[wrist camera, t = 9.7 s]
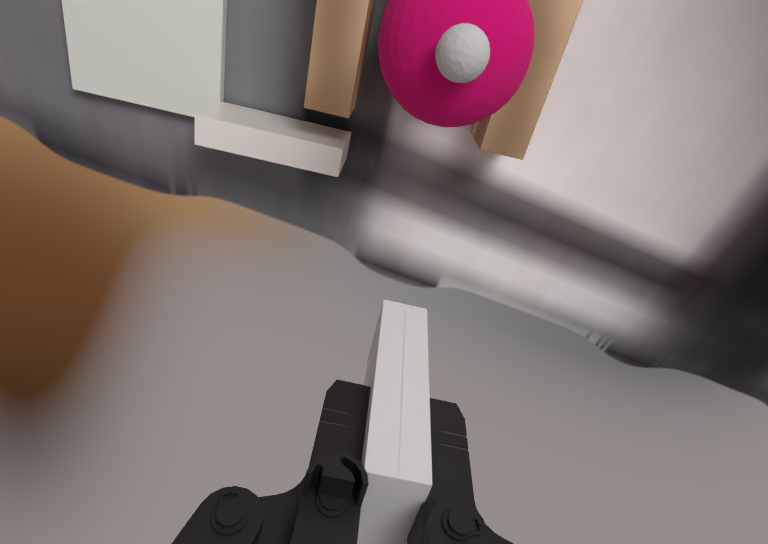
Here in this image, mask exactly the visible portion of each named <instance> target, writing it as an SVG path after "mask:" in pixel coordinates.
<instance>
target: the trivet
mask: <svg viewBox="0 0 768 544" xmlns="http://www.w3.org/2000/svg"><path fill="white" fill-rule="evenodd" d="M62 7H63V15H64V23H65V31H66V39H67V47H68V55H69V63H70V71H71V79H72V87H73V89H75V90H80V91H84V92H88V93H93V94H97V95H101V96H105V97H110V98H114V99H118V100H123V101H127V102H131V103H135V104H140V105H144V106H148V107H153V108H157V109H161V110H166V111H170V112H174V113H178V114H183V115H187V116H191V117H195V114H197V113H199V112H201V111H204V110H206V109H208V108H210V107H212V106H214V105H216V104H218V103H220V102H224V77H225V50H226V22H227V0H62Z"/></svg>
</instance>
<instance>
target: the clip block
mask: <svg viewBox="0 0 768 544" xmlns="http://www.w3.org/2000/svg"><path fill="white" fill-rule="evenodd" d="M528 1H529V3H530V6H531V11H532V15H533V19H534V28H535V37H534V50H533V54H532V59H531V63H530V66H529V68H528V71H527V73H526V76H525V78H524V80H523V82H522V83H521V85H520V87H519V89H518V90H517V92H516V93H515V94H514V95H513V96H512V98H511V99H510V100H509V101H508V102H507V103H506V104H505V105H504V106H503V107H502V108H501V109H499V110H498V111H497V112H496V113H494V114H492V115H491V116H489V117H487V118H485V119H483V120H481V121H478V122H476V123H474V126H473V129H472V134H473V136H474V138H475V141H476V143H477V145H478V147H479V149H480V150H484V151H488V152H492V153H496V154H500V155H505V156H509V157H513V158H517V159H522V160H523V158H524V155H525V152H526V150H527V147H528V145H529V142H530V139H531V137H532V134H533V131H534V129H535V126H536V124H537V121H538V118H539V116H540V113H541V110H542V108H543V105H544V103H545V100H546V97H547V95H548V92H549V89H550V87H551V84H552V82H553V79H554V76H555V74H556V71H557V68H558V66H559V63H560V61H561V58H562V55H563V53H564V50H565V47H566V45H567V42H568V40H569V37H570V34H571V32H572V29H573V26H574V24H575V21H576V19H577V16H578V13H579V11H580V8H581V5H582V3H583V0H528ZM374 6H375V0H317V4H316V12H315V20H314V28H313V37H312V45H311V53H310V61H309V69H308V77H307V85H306V94H305V102H304V108H307V109H311V110H315V111H319V112H324V113H328V114H332V115H336V116H341V117H345V118H349V117H350V115H351V114H352V112H353V110H354V109H355V107H356V105H357V100H358V95H359V89H360V84H361V78H362V72H363V67H364V61H365V56H366V50H367V45H368V39H369V33H370V28H371V22H372V17H373V11H374Z"/></svg>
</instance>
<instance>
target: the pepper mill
mask: <svg viewBox="0 0 768 544" xmlns="http://www.w3.org/2000/svg"><path fill="white" fill-rule="evenodd" d="M534 37H535V28H534V19H533V15H532V11H531V6H530V3H529V1H528V0H388V2H387V4H386V6H385V10H384V13H383V16H382V21H381V26H380V31H379V38H378V52H379V62H380V67H381V71H382V75H383V78H384V80H385V82H386V85H387V87H388V89H389V90H390V92H391V93H392V95H393V96H394V98H395V99H396V100H397V101H398V103H399V104H400V105H401V106H402V107H403V108H404V109H405V110H406V111H408V112H409V113H410V114H411V115H413V116H414V117H416V118H418V119H420V120H422V121H424V122H426V123H428V124H432V125H437V126H442V127H459V126H465V125H469V124H473V123H476V122H478V121H481V120H483V119H485V118H487V117H489V116H491V115H492V114H494V113H496V112H497V111H498V110H499V109H501V108H502V107H503V106H504V105H505V104H506V103H507V102H508V101H509V100H510V99H511V98H512V96H513V95H514V94H515V93H516V92H517V90H518V89H519V87H520V85H521V83H522V82H523V80H524V78H525V76H526V73H527V71H528V68H529V66H530V63H531V59H532V54H533V50H534Z"/></svg>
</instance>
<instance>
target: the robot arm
mask: <svg viewBox="0 0 768 544" xmlns="http://www.w3.org/2000/svg"><path fill="white" fill-rule="evenodd" d="M428 364H429V363H428V332H427V309H424V308H419V307H415V306H411V305H406V304H402V303H397V302H393V301H388V300H383V304H382V308H381V312H380V316H379V319H378V323H377V327H376V330H375V334H374V338H373V342H372V345H371V349H370V353H369V356H368V361H367V368H366V376H365V382H364V385H360V384H355V383H351V382H346V381H341V380H336V381H335V382H334V384H333V385H332V386H331V387H330V388H329V389H328V390H327V392H326V396H325V400H324V404H323V409H322V413H321V417H320V421H319V426H318V430H317V434H316V438H315V442H314V447H313V451H312V455H311V459H310V464H309V468H308V470H307V472H306V476H305V477H304V478H303V480H302V481H301V483H299V484H298V485H297V486H296V487H295V488H293V489H291V490H289V491H288V492H285V493H282V494H278V495H272V496H264V497H257V496H256V495H255V494H254V493H252V492H251V491H250V490H248V489H246V488H241V487H237V486H233V487H226V488H222V489H220V490H217V491H215V492H214V493H212V494H210V495H209V496H208V497H207V498H206V499H205V500H204V501H203V502H202V503H201V504H200V505H199V507H198V508H197V510H196V511H195V512H194V514H193V515H192V517H191V518H190V519H189V521H188V522H187V523H186V525H185V526H184V527H183V529H182V530H181V532H180V533H179V534H178V536H177V537H176V538H175V540H174V541H173V543H172V544H406V543H407V544H513V543H511V542H509V541H507V540H506V539H504V538H502V537H500V536H499V535H497V534H496V533H494V532H493V531H492V530H491V529H490V528H489V527H488V526H487V525H486V524H485V523H484V520H483V518H482V517H481V515H480V514H479V513H478V511H477V509H476V505H475V501H474V494H473V486H472V477H471V469H470V460H469V452H468V443H467V438H466V425H465V419H464V417H463V415H462V413H461V411H460V409H459V408H458V406H457V404H456V403H451V402H447V401H441V400H437V399H432V398H430V394H429V365H428Z"/></svg>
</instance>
